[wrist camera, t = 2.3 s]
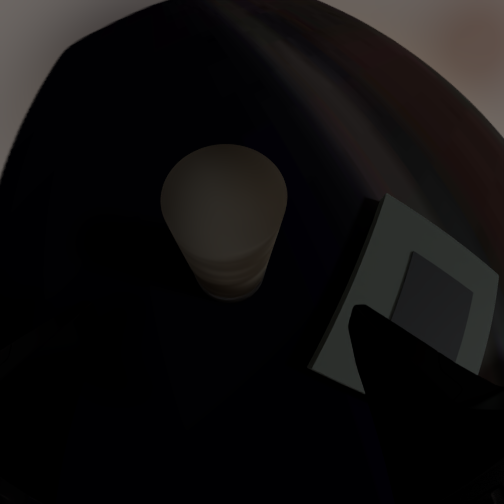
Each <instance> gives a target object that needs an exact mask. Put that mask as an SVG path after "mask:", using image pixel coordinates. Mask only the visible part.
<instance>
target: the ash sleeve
mask: <svg viewBox="0 0 504 504" xmlns="http://www.w3.org/2000/svg"><path fill="white" fill-rule="evenodd" d="M286 205H287V189H286V184H285V182H284V179H283V177H282V175H281V173H280V171H279V170H278V168H277V167H276V166H275V165H274V164H273V163H272V162H271V161H270V160H269V159H268V158H267V157H265V156H264V155H262V154H261V153H259V152H257V151H255V150H253V149H250V148H247V147H244V146H239V145H232V144H221V145H213V146H208V147H205V148H201V149H199V150H197V151H194V152H192V153H191V154H189V155H187V156H186V157H184V158H183V159H182V160H180V161H179V162H178V163H177V164H176V165H175V166H174V167H173V169H172V170H171V171H170V173H169V174H168V176H167V178H166V180H165V182H164V185H163V188H162V193H161V209H162V213H163V217H164V219H165V221H166V223H167V225H168V227H169V229H170V231H171V233H172V235H173V237H174V238H175V240H176V242H177V244H178V246H179V248H180V250H181V251H182V253H183V255H184V257H185V259H186V261H187V262H188V264H189V266H190V268H191V270H192V271H193V273H194V276H195V278H196V280H197V282H198V283H199V285H200V287H201V288H202V290H203V291H204V292H205V293H206V294H207V295H208V296H209V297H210V298H212V299H214V300H216V301H218V302H222V303H238V302H242V301H244V300H246V299H248V298H250V297H251V296H252V295H253V294H254V293H255V292H256V291H257V290H258V289H259V287H260V285H261V283H262V281H263V278H264V275H265V271H266V267H267V264H268V261H269V258H270V255H271V252H272V249H273V246H274V243H275V240H276V237H277V234H278V231H279V228H280V225H281V222H282V219H283V216H284V213H285V209H286Z"/></svg>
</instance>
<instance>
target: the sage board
mask: <svg viewBox="0 0 504 504" xmlns="http://www.w3.org/2000/svg"><path fill="white" fill-rule="evenodd" d="M498 279H499V275H498V274H497V273H496V272H494V271H493V270H492V269H491V268H490V267H489V266H487V265H486V264H485V263H484V262H483V261H481V260H480V259H479V258H478V257H477V256H475V255H474V254H473V253H472V252H470V251H469V250H468V249H467V248H465V247H464V246H463V245H461V244H460V243H459V242H457V241H456V240H455V239H454V238H452V237H451V236H450V235H448V234H447V233H445V232H444V231H443V230H441V229H440V228H439V227H437V226H436V225H434V224H433V223H431V222H430V221H429V220H427V219H426V218H424V217H423V216H421V215H420V214H418V213H417V212H415V211H414V210H412V209H411V208H409V207H408V206H406V205H405V204H403V203H401V202H400V201H398V200H397V199H395V198H394V197H392V196H390V195H389V194H387V193H386V194H385V195H384V197H383V198H382V199H381V200H380V202H379V204H378V207H377V210H376V213H375V216H374V219H373V221H372V224H371V227H370V229H369V232H368V235H367V237H366V240H365V243H364V245H363V248H362V250H361V253H360V255H359V258H358V260H357V262H356V265H355V267H354V270H353V272H352V274H351V277H350V279H349V281H348V284H347V286H346V288H345V290H344V293H343V295H342V297H341V299H340V302H339V304H338V306H337V308H336V310H335V312H334V314H333V317H332V319H331V321H330V323H329V325H328V327H327V329H326V331H325V333H324V335H323V337H322V339H321V341H320V343H319V345H318V347H317V349H316V351H315V353H314V354H313V356H312V358H311V360H310V362H309V364H308V366H307V368H308V369H311V370H313V371H315V372H317V373H319V374H321V375H323V376H325V377H327V378H329V379H331V380H333V381H336V382H338V383H340V384H342V385H344V386H346V387H349V388H351V389H353V390H355V391H358V392H360V393H362V394H364V395H365V391H364V388H363V385H362V382H361V379H360V376H359V373H358V370H357V367H356V363H355V358H354V353H353V349H352V344H351V340H350V335H349V331H348V323H349V319H350V316H351V312H352V309H353V307H354V305H358V304H366V305H367V306H369V307H371V308H372V309H374V310H375V311H377V312H378V313H380V314H381V315H383V316H385V317H386V318H388V319H389V320H391V321H392V322H394V323H395V324H397V325H399V326H400V327H402V328H403V329H405V330H406V331H408V332H409V333H411V334H412V335H414V336H415V337H417V338H419V339H420V340H422V341H423V342H425V343H426V344H428V345H429V346H431V347H432V348H434V349H435V350H437V351H438V352H440V353H441V354H443V355H444V356H446V357H447V358H449V359H451V360H452V361H454V362H455V363H457V364H459V365H460V366H462V367H464V368H466V369H467V370H469V371H471V372H473V373H475V374H476V375H478V373H479V370H480V366H481V363H482V360H483V356H484V352H485V349H486V345H487V341H488V337H489V332H490V328H491V323H492V318H493V313H494V307H495V301H496V294H497V287H498Z"/></svg>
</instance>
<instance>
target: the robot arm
mask: <svg viewBox="0 0 504 504" xmlns="http://www.w3.org/2000/svg"><path fill="white" fill-rule="evenodd" d="M98 329H99V318H98V315H97V312H96V309H95V306H94V304H93V303H92V302H90V301H81V302H79V303H78V304H76V305H74V306H73V307H71V308H69V309H67V310H66V311H64V312H62V313H61V314H59V315H57V316H56V317H54V318H52V319H51V320H49V321H47V322H46V323H44V324H42V325H41V326H39V327H37V328H36V329H34V330H33V331H31V332H29V333H28V334H26V335H24V336H23V337H21V338H20V339H18V340H16V341H15V342H13V343H12V344H10V345H8V346H7V347H5V348H4V349H2V350H1V351H0V504H27V502H28V498H29V497H31V498H33V499H35V500H36V501H38V502H40V503H42V504H56V497H57V490H58V484H59V478H60V472H61V467H62V462H63V460H62V459H63V456H64V452H65V447H66V443H67V439H68V434H69V430H70V427H71V423H72V419H73V415H74V412H75V408H76V405H77V401H78V398H79V395H80V391H81V388H82V385H83V382H84V379H85V376H86V373H87V370H88V367H89V364H90V360H91V357H92V353H93V348H94V344H95V340H96V337H97V333H98ZM348 331H349V335H350V340H351V344H352V349H353V353H354V358H355V363H356V367H357V370H358V373H359V376H360V379H361V382H362V385H363V388H364V391H365V395H366V398H367V401H368V404H369V407H370V411H371V414H372V417H373V421H374V424H375V427H376V431H377V434H378V438H379V441H380V445H381V449H382V452H383V456H384V460H385V464H386V467H387V472H388V476H389V480H390V484H391V488H392V493H393V497H394V501H395V504H504V387H500V386H497V385H495V384H493V383H491V382H489V381H487V380H485V379H484V378H482V377H480V376H478V375H476V374H475V373H473V372H471V371H469V370H467V369H466V368H464V367H462V366H460V365H459V364H457V363H455V362H454V361H452V360H451V359H449V358H447V357H446V356H444V355H443V354H441V353H440V352H438V351H437V350H435V349H434V348H432V347H431V346H429V345H428V344H426V343H425V342H423V341H422V340H420V339H419V338H417V337H415V336H414V335H412V334H411V333H409V332H408V331H406V330H405V329H403V328H402V327H400V326H399V325H397V324H395V323H394V322H392V321H391V320H389V319H388V318H386V317H385V316H383V315H381V314H380V313H378V312H377V311H375V310H374V309H372V308H371V307H369V306H367V305H366V304H358V305H354V307H353V309H352V312H351V316H350V319H349V323H348Z"/></svg>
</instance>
